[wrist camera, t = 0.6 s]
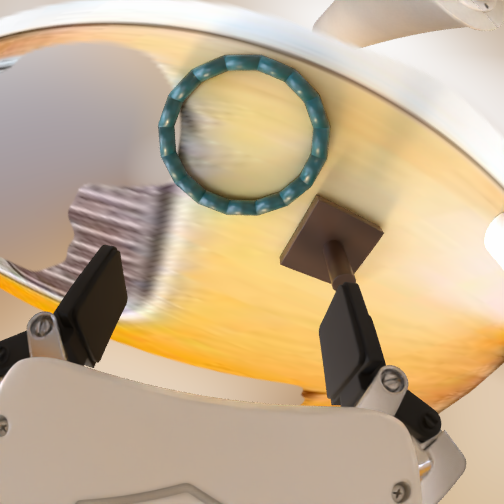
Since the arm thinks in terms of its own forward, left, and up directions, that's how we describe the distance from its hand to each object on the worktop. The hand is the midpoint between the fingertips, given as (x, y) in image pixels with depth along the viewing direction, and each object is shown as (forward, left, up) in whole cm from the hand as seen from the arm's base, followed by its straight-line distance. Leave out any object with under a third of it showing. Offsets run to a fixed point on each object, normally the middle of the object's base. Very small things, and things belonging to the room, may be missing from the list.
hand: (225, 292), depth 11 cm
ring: (-2, -2, -18) cm, 19 cm away
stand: (+5, +12, -19) cm, 23 cm away
